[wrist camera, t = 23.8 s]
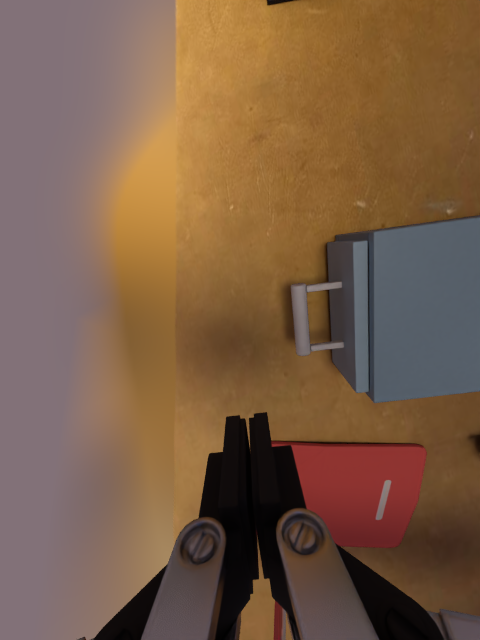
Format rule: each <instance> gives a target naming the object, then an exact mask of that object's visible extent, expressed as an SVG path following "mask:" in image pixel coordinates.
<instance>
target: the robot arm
mask: <svg viewBox="0 0 480 640" xmlns="http://www.w3.org/2000/svg"><path fill="white" fill-rule="evenodd" d="M249 429H250V447H249V440H248V434H247V427H246V420H245V419H240V415H238V416H229V417H226V425H225V436H224V447H223V452H218V453H210V454H209V457H208V462H207V468H206V475H205V481H204V487H203V494H202V500H201V506H200V513H199V518H198V519H196V520H193V521H192V522H190V523H189V524H188V525H186V526H185V527H184V529H183V530H182V531H181V532H180V534H179V536H178V538H177V540H176V543H175V545H174V548H173V551H172V554H171V557H170V559H169V562H168V564H167V565H166V566H165V567H164V568H163V569H162V570H161V571H160V572H159V573H158V574H157V575H156V576H155V577H154V578H153V579H152V580H151V581H150V582H149V583H148V584H147V585H146V586H145V587H144V588H143V589H142V590H141V591H140V592H139V593H138V594H137V595H136V596H135V597H134V598H133V599H132V600H131V601H130V602H128V603H127V605H126V606H124V607H123V609H121V610H120V612H118V613H117V614H116V615H115V616H114V617H113V618H112V619H111V620H110V621H109V622H108V623H107V624H106V625H105V626H104V627H103V629H102V630H101V631H100V632H99V633H98V634H97V636H96V637H95V638H93V639H91V640H239V635H240V626H241V611H242V610H243V608H244V607H245V605H246V604H247V603H248V601H249V600H250V594H253V580H256V579H259V568H258V548H257V535H258V542H259V548H260V555H261V561H262V567H263V574H264V579H267V578H269V579H270V585H271V592H272V597H273V598H274V599H275V601H276V602H277V603H278V604H279V605H280V606H281V607H282V608H283V609H284V610H285V611H286V613H287V619H288V624H289V628H290V632H291V636H292V640H480V617H479V616H474V615H469V614H464V613H459V612H454V611H449V610H444V609H440V611H439V613H435V612H430V611H426V610H425V609H424V608H422V607H421V606H420V605H419V604H418V603H417V602H416V601H414V600H413V599H412V598H410V597H409V596H407V595H406V594H405V593H403V592H402V591H401V590H399V589H398V588H396V587H395V586H394V585H392V584H391V583H390V582H388V581H387V580H385V579H384V578H383V577H381V576H380V575H378V574H377V573H376V572H374V571H373V570H372V569H370V568H369V567H367V566H366V565H365V564H363V563H362V562H361V561H359V560H358V559H356V558H355V557H354V556H352V555H351V554H350V553H348V552H347V551H345V550H344V549H343V548H341V547H340V546H339V545H337V544H336V543H334V540H333V538H332V536H331V534H330V532H329V529H328V527H327V525H326V524H325V522H324V521H323V519H322V518H321V517H320V516H319V515H317V514H316V513H315V512H313V511H311V510H309V509H307V507H306V503H305V499H304V495H303V491H302V487H301V483H300V479H299V475H298V471H297V467H296V462H295V458H294V454H293V450H292V446H291V445H284V446H274V447H272V443H271V437H270V430H269V423H268V416H267V412H265V413H256V414H254V418H249ZM250 453H251V454H250ZM78 640H86V639H85V637H83V638H80V639H78Z"/></svg>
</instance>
